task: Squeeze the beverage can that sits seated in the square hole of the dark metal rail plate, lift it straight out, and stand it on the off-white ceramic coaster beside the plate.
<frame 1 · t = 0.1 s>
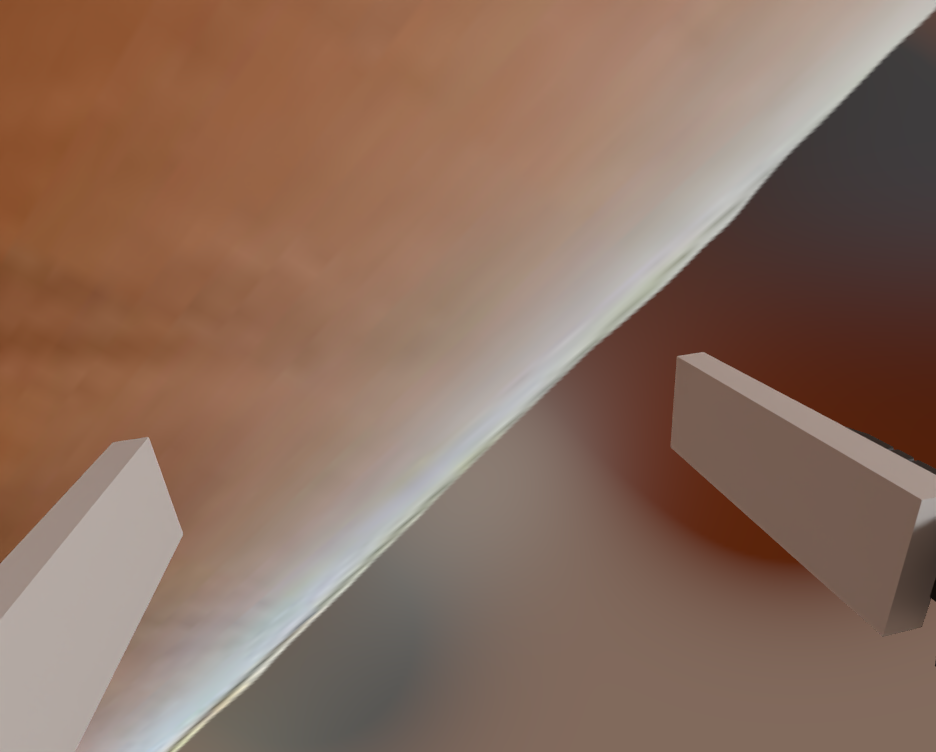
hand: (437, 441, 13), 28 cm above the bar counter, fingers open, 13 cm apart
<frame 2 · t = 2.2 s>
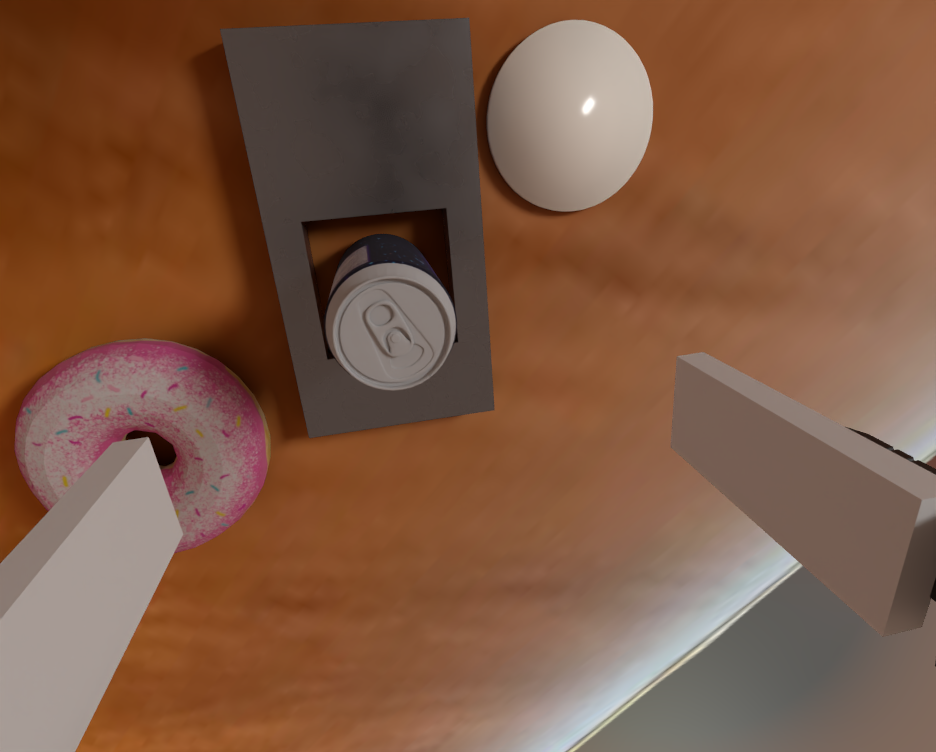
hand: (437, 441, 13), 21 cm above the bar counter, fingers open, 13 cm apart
coaster: (568, 122, 31), on the bar counter
beverage can: (383, 278, 33), resting in rail plate
rail plate: (379, 246, 32), on the bar counter
donut: (169, 428, 34), on the bar counter
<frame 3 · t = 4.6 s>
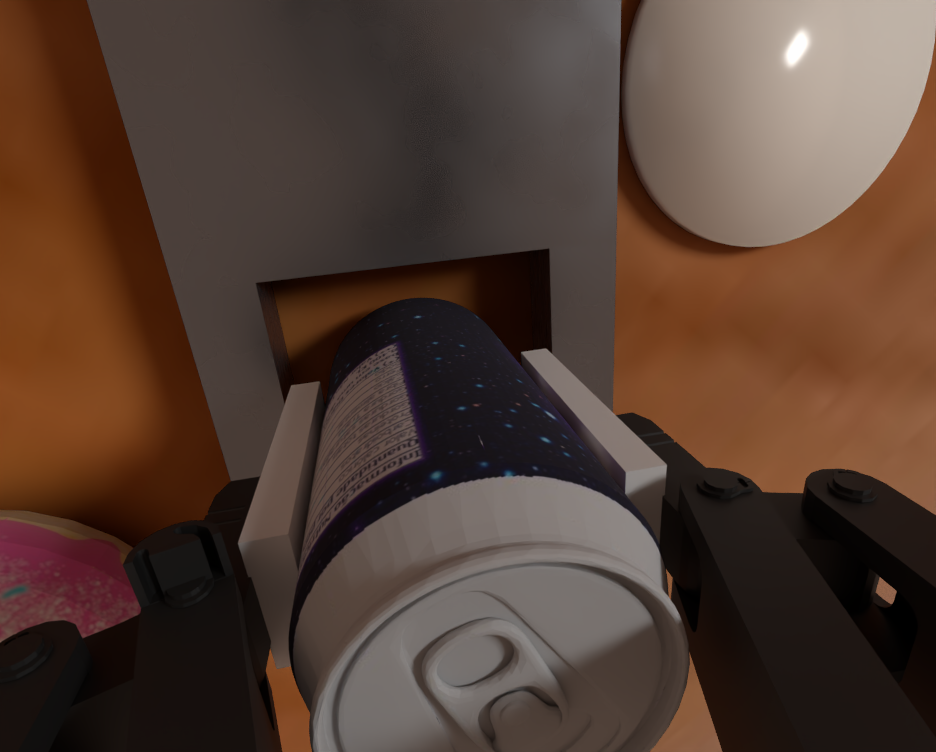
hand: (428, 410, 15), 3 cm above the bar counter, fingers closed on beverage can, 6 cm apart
coaster: (772, 79, 16), on the bar counter
beverage can: (418, 373, 18), resting in rail plate, touching gripper
rail plate: (411, 317, 17), on the bar counter
donut: (39, 635, 19), on the bar counter
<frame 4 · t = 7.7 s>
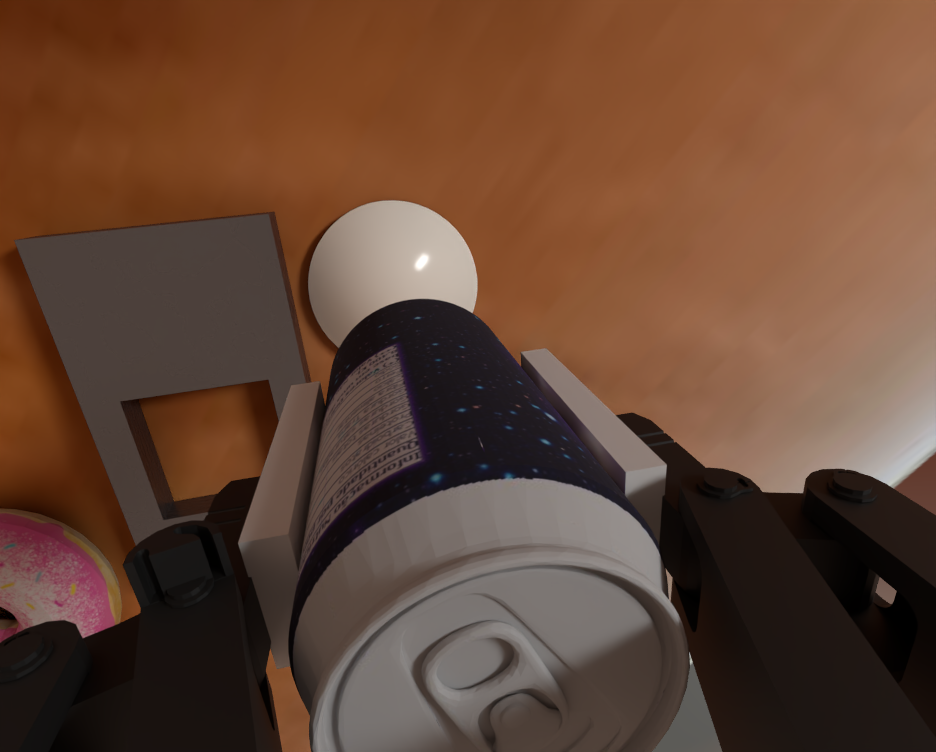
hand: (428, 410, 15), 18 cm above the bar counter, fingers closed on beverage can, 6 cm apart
coaster: (394, 286, 32), on the bar counter
beverage can: (418, 373, 18), point 15 cm above the bar counter, touching gripper
rail plate: (214, 407, 32), on the bar counter
donut: (23, 578, 34), on the bar counter
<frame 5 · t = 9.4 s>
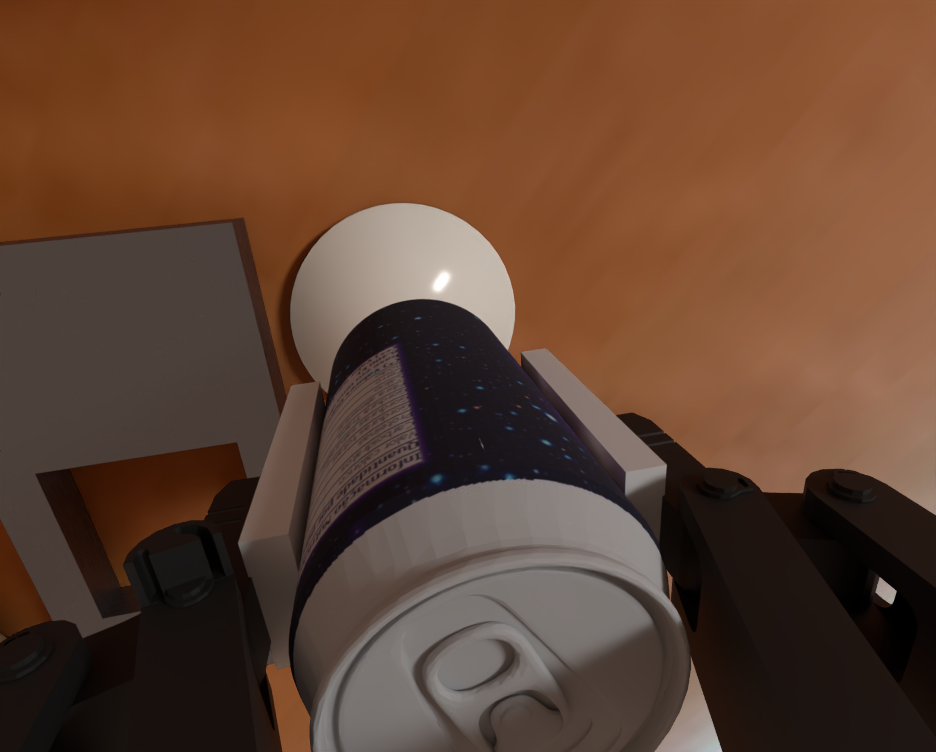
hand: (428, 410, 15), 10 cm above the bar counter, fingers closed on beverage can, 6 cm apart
coaster: (405, 317, 24), on the bar counter
beverage can: (418, 374, 18), point 7 cm above the bar counter, touching gripper
rail plate: (168, 472, 25), on the bar counter
when the fingers open (4 cm above the bar counter, at t = 10.9 s): beverage can stays where it is, resting on coaster.
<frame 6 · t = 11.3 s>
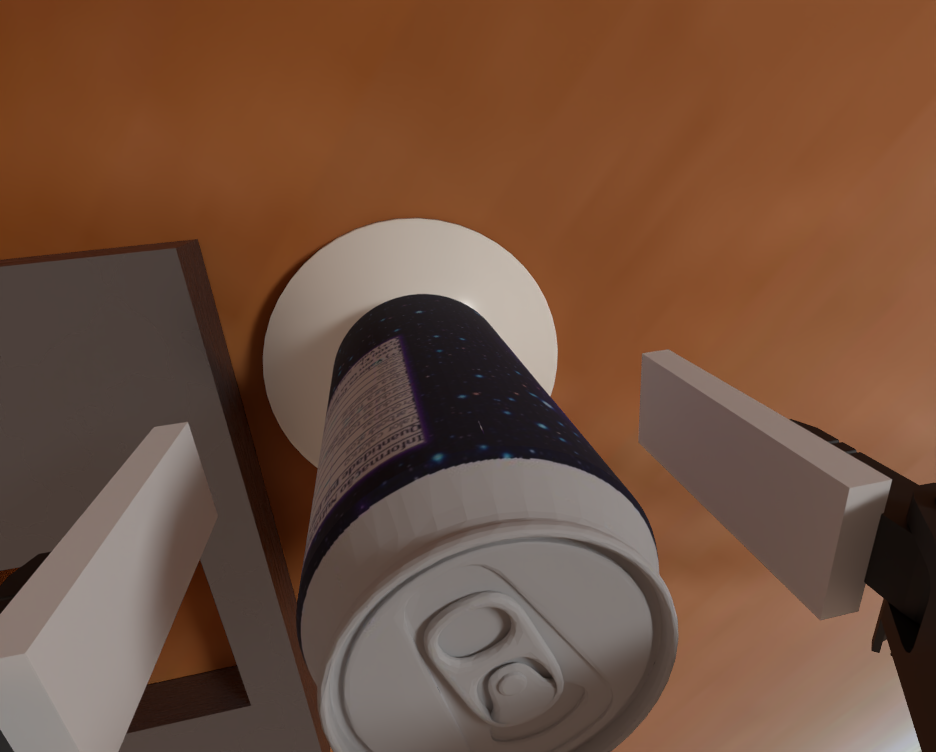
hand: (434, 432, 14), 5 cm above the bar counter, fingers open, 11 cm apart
coaster: (416, 365, 18), on the bar counter
beverage can: (419, 368, 18), resting on coaster
rail plate: (108, 566, 19), on the bar counter
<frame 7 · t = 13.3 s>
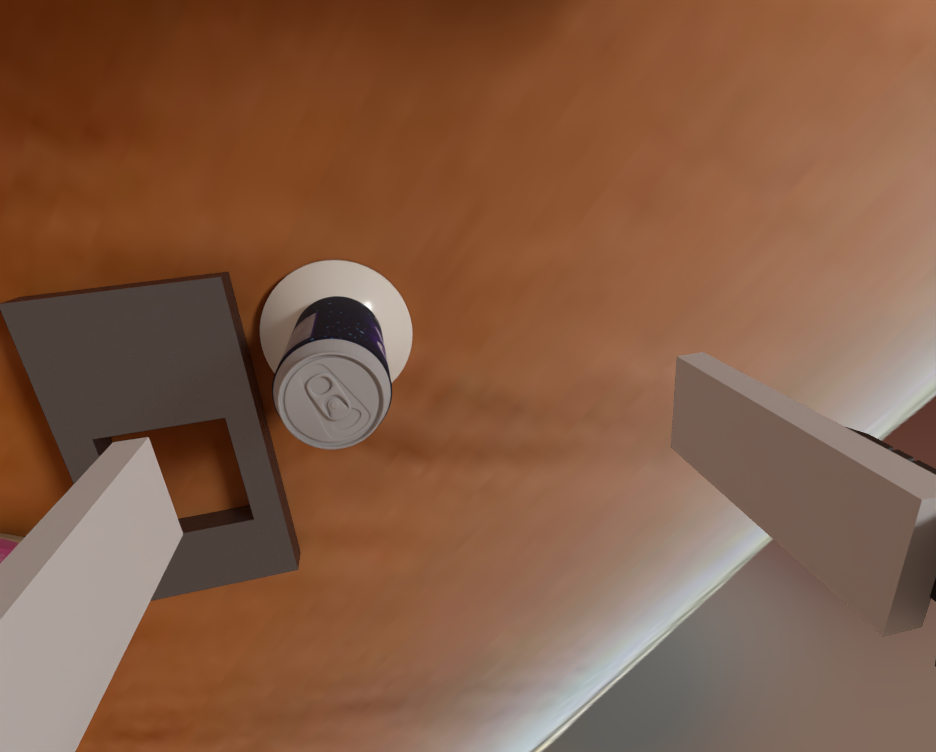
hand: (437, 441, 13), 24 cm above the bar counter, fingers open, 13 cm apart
coaster: (338, 333, 36), on the bar counter
beverage can: (339, 334, 36), resting on coaster
rail plate: (178, 441, 36), on the bar counter
donut: (11, 595, 38), on the bar counter
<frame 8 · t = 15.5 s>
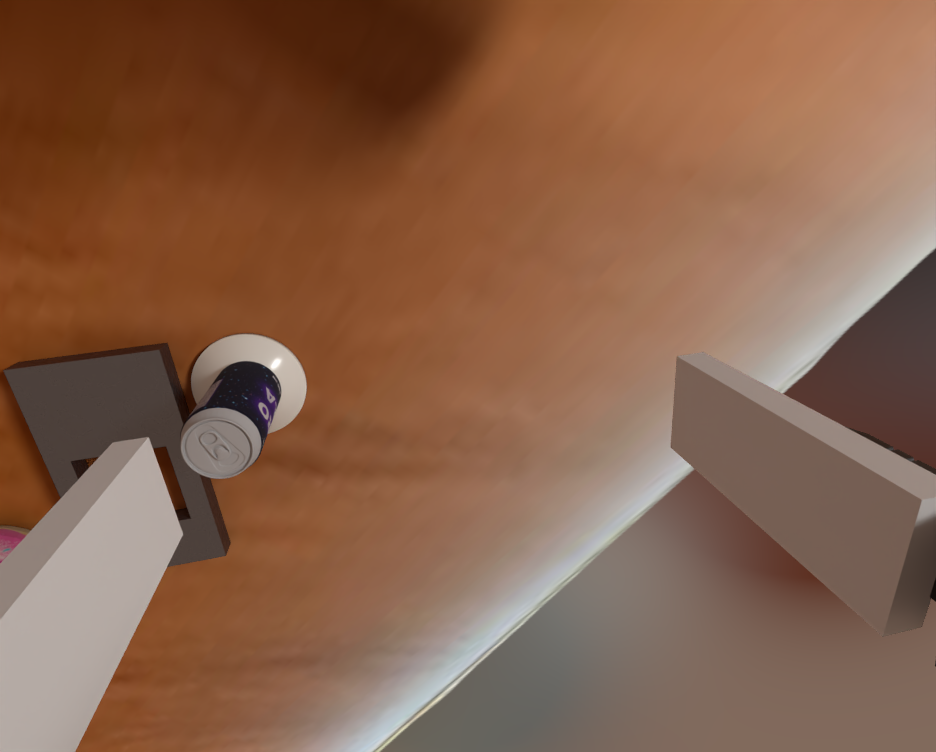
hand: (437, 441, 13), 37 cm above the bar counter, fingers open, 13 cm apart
coaster: (251, 384, 49), on the bar counter
beverage can: (251, 385, 49), resting on coaster
rail plate: (134, 461, 50), on the bar counter
donut: (16, 570, 52), on the bar counter
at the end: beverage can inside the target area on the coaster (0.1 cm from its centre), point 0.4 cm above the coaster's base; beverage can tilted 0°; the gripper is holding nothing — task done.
